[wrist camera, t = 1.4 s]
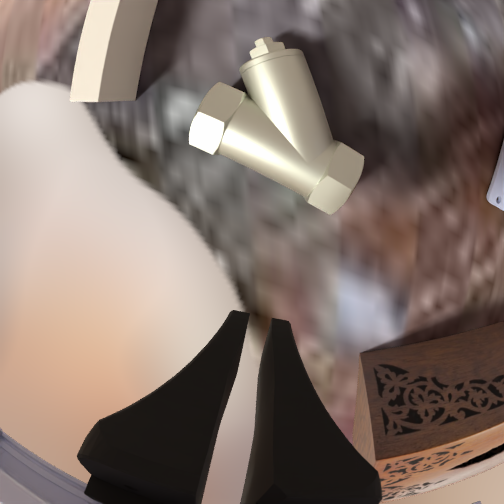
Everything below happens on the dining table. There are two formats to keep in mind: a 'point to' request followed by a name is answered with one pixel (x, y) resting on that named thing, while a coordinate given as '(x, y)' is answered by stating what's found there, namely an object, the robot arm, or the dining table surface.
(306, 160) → the pipe fitting
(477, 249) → the dining table surface
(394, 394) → the tissue box cover
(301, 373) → the robot arm
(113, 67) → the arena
